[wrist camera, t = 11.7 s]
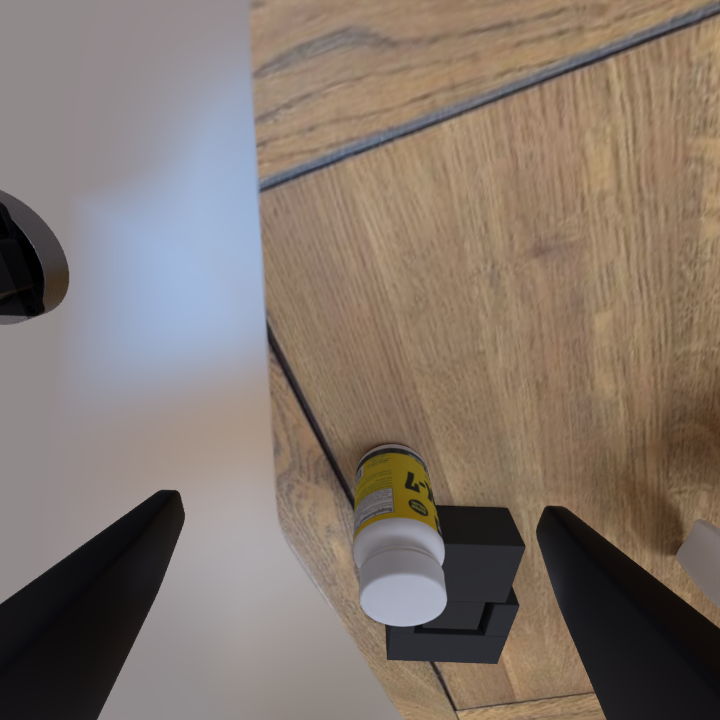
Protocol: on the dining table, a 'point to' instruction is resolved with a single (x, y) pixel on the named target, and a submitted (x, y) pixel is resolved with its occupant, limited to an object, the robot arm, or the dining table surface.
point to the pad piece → (476, 562)
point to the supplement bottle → (397, 538)
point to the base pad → (455, 638)
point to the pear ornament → (703, 558)
